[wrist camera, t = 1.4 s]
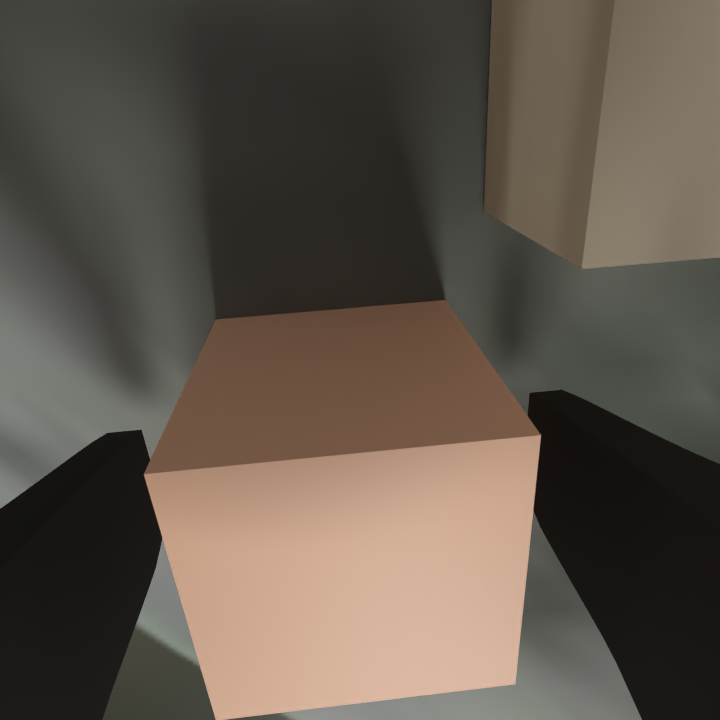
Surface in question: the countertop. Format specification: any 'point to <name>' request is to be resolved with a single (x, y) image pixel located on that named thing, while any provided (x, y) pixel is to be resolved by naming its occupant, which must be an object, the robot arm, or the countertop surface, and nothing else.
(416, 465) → the block
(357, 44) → the countertop surface
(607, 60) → the base
